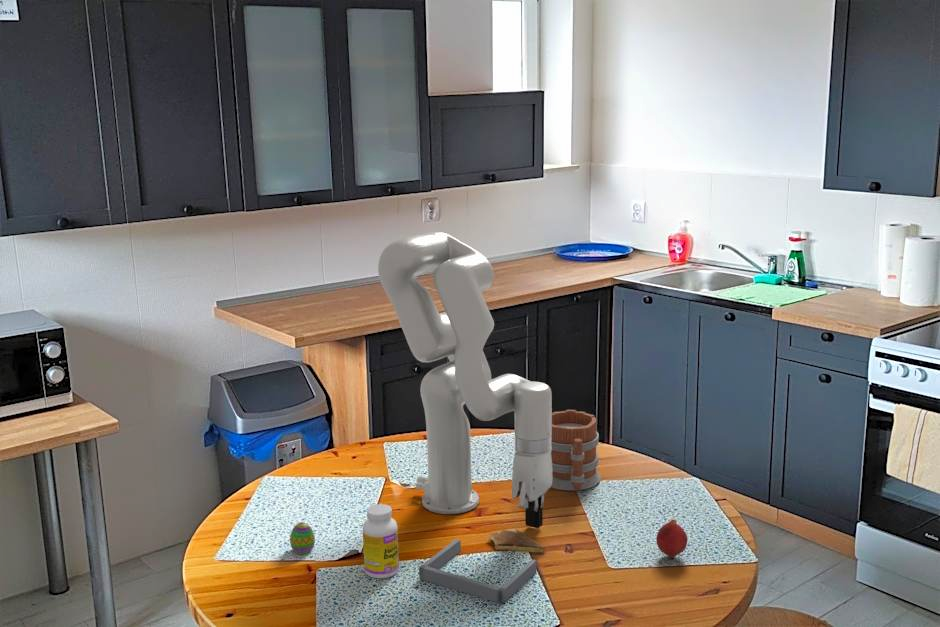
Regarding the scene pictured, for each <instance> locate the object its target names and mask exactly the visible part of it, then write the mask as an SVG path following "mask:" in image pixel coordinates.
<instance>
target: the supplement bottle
mask: <svg viewBox="0 0 940 627" xmlns="http://www.w3.org/2000/svg"><path fill="white" fill-rule="evenodd" d="M392 515H393V510H392V507H391V506H390V505H388V504H384V503H382V504H380V503H377V504H373V505H370V506H369V507H368V508H367V509H366V517H367V520H365V521H364V522H363V524H362V543H363V544H362V546H363V549H362V550H363V567H364V573H365V574H366V575H367V576H369V577H370V578H373V579H387V578H390V577H393V576H395V575H396V574H397V573H398V571H399V569H400V559H399V558H400V557H399V554H400V553H399V552H400V551H399V532H398V528H399V526H398V523H397V521H396V519H394V518H393V517H392Z"/></svg>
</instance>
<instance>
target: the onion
mask: <svg viewBox="0 0 940 627" xmlns="http://www.w3.org/2000/svg"><path fill="white" fill-rule="evenodd" d="M655 540H656V545H657V547H658V550H659V551H661V552H662V554H664V555H666V556H668V557H669V558H671V559H673V558H676V556H678V555H680V554H681V553H683V552H684V551H685V550H686V548H687V545H688V536H687V533H686V531H685V530H684V528H683V527H682V526H681V525H680V524H677V520H676V518H671V519H670V520H669V521H668V522H667V523H665V524H663V525H662V526H661V527H659V529H658V531H657V533H656V538H655Z"/></svg>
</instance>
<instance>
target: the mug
mask: <svg viewBox="0 0 940 627" xmlns="http://www.w3.org/2000/svg"><path fill="white" fill-rule="evenodd" d="M599 437H600V436H599V432H598V431H597V418H596V416H595V415H594V414H590V413H587V412H586V411H577V409H566V410H561V411H553V412H552V451H551V455H552V471H553V476H552V485H551V487H550V489H554V490H559V491H562V492H565V491H567V492H579V491H583V490H588V489H591V488H593V487H595V486H596V485H597V484H599V482H600V481H601V475H600V473H599V471H598V469H597V467H598V466H599V459H600V458H599V453H598V452H597V446H599V443H600V442H599V439H600V438H599Z"/></svg>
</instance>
